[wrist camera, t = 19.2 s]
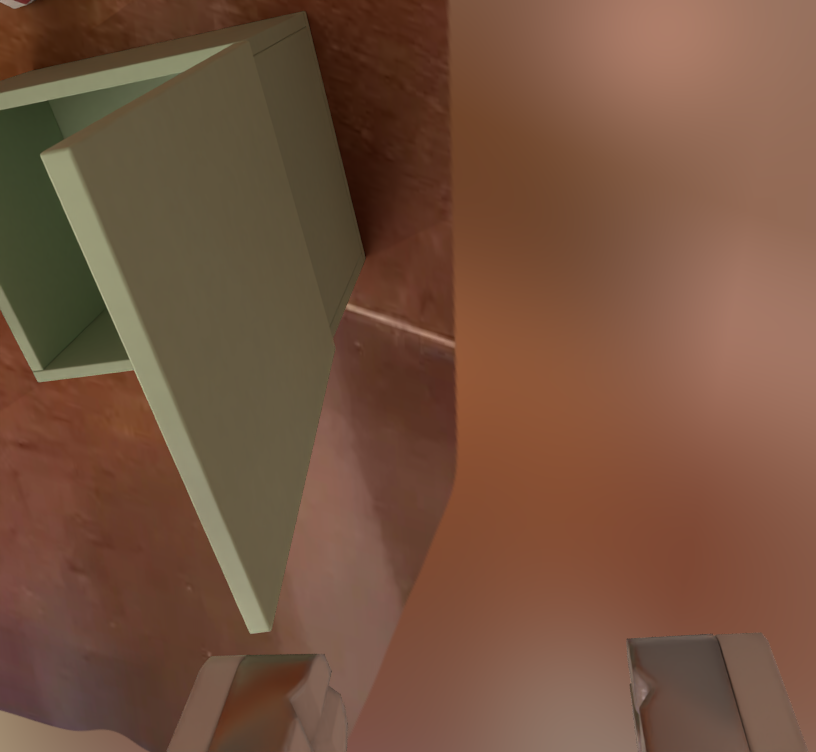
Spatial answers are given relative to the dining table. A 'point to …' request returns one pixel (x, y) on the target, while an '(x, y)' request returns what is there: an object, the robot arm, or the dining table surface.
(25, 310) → the green box
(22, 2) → the knife
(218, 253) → the cabinet door
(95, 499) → the dining table surface
